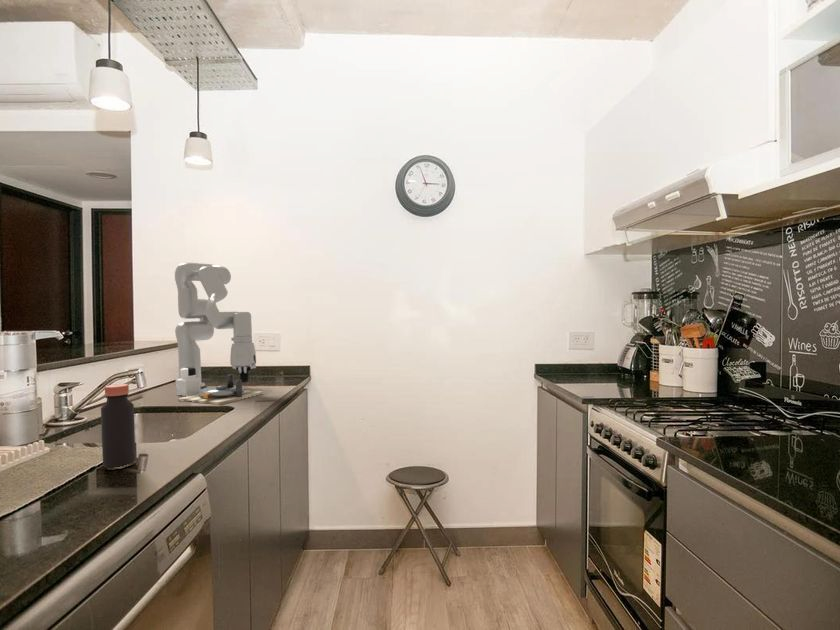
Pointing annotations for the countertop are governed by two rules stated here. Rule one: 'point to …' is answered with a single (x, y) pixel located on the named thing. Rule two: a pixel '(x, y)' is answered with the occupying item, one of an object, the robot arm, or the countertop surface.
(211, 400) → the base board
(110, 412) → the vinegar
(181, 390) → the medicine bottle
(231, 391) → the flange plate
